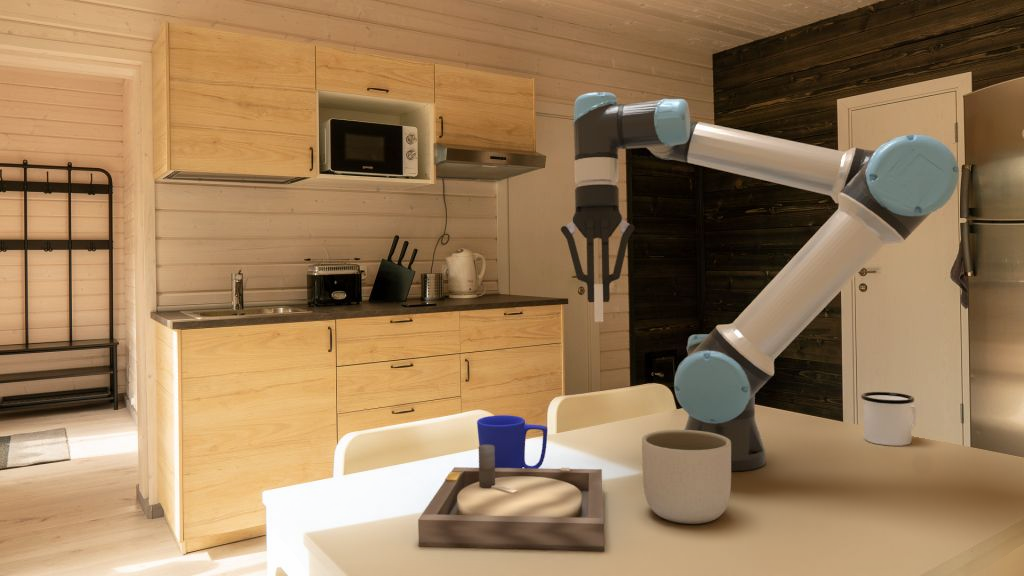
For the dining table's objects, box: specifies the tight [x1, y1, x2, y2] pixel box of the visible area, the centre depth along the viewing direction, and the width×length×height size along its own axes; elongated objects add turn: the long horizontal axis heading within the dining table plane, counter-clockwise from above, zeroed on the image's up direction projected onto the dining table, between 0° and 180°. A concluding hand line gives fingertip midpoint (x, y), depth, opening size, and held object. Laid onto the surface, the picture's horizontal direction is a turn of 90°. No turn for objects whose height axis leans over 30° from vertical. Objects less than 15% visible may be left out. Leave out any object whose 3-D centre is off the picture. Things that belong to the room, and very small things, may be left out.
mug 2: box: [860, 391, 917, 447], centre depth 141 cm, size 12×10×9 cm
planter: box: [641, 429, 732, 525], centre depth 102 cm, size 12×12×11 cm
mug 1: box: [476, 414, 548, 468], centre depth 121 cm, size 8×12×10 cm
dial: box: [457, 445, 582, 518], centre depth 103 cm, size 18×18×8 cm
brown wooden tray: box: [417, 466, 605, 552], centre depth 103 cm, size 24×24×4 cm
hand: (598, 321), depth 124 cm, fingers closed
